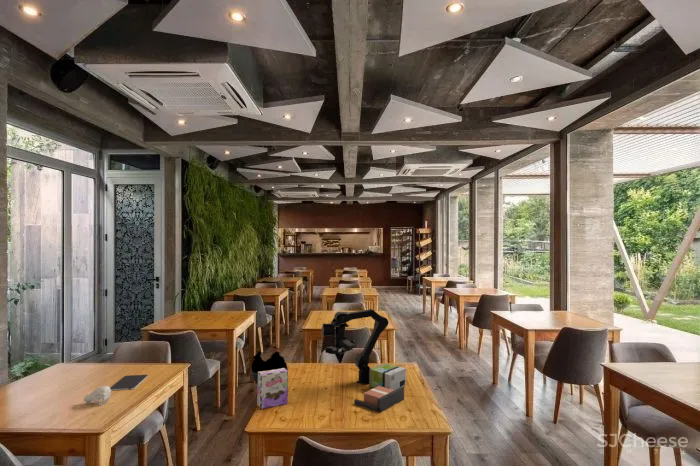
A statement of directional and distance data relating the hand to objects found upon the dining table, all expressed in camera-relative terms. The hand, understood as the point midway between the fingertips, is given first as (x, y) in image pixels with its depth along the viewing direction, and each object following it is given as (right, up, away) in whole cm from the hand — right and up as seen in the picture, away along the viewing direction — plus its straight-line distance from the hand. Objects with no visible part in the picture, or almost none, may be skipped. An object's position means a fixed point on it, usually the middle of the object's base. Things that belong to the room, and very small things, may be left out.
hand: (340, 363), depth 221 cm
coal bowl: (-39, -12, -4) cm, 41 cm away
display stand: (+20, -11, -23) cm, 33 cm away
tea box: (+32, -7, -8) cm, 34 cm away
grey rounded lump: (-119, -11, -27) cm, 123 cm away
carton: (+20, -12, -24) cm, 33 cm away
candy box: (-32, -11, -28) cm, 44 cm away
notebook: (-119, -13, +1) cm, 119 cm away
